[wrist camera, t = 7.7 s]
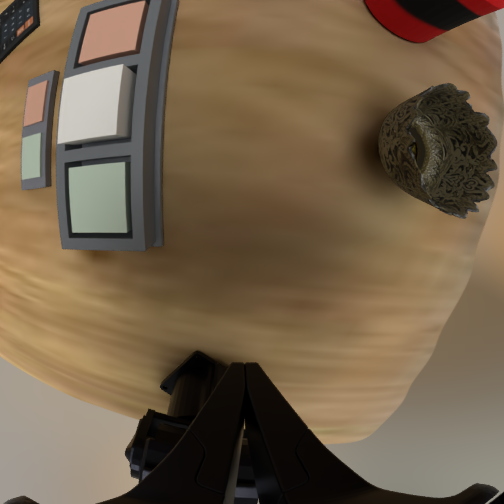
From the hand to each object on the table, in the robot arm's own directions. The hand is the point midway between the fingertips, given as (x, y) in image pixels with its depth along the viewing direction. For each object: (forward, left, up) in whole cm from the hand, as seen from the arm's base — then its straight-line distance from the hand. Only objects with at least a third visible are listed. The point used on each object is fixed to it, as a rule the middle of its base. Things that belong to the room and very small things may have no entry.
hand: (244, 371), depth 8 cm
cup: (+14, -3, -12) cm, 19 cm away
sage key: (-3, +10, -11) cm, 16 cm away
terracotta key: (+7, +18, -11) cm, 22 cm away
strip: (-3, +20, -12) cm, 24 cm away
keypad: (+2, +14, -12) cm, 19 cm away
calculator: (+1, +37, -12) cm, 39 cm away
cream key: (+2, +14, -10) cm, 17 cm away
